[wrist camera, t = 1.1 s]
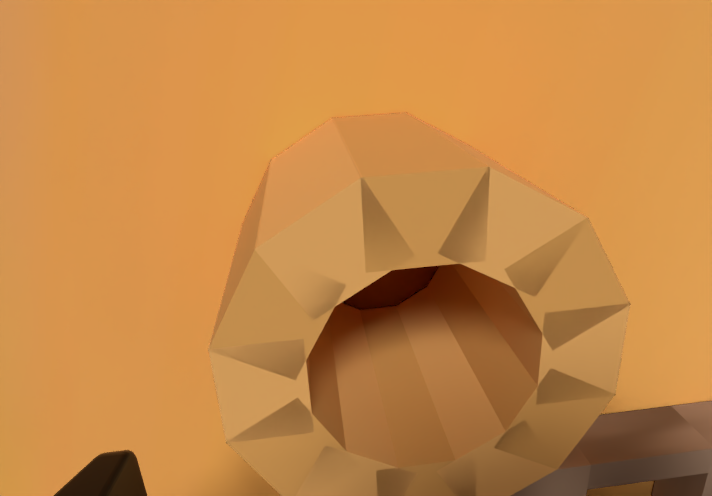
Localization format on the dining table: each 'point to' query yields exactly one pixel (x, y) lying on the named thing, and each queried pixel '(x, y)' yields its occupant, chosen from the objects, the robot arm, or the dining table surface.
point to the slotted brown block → (639, 454)
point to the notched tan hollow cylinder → (411, 320)
